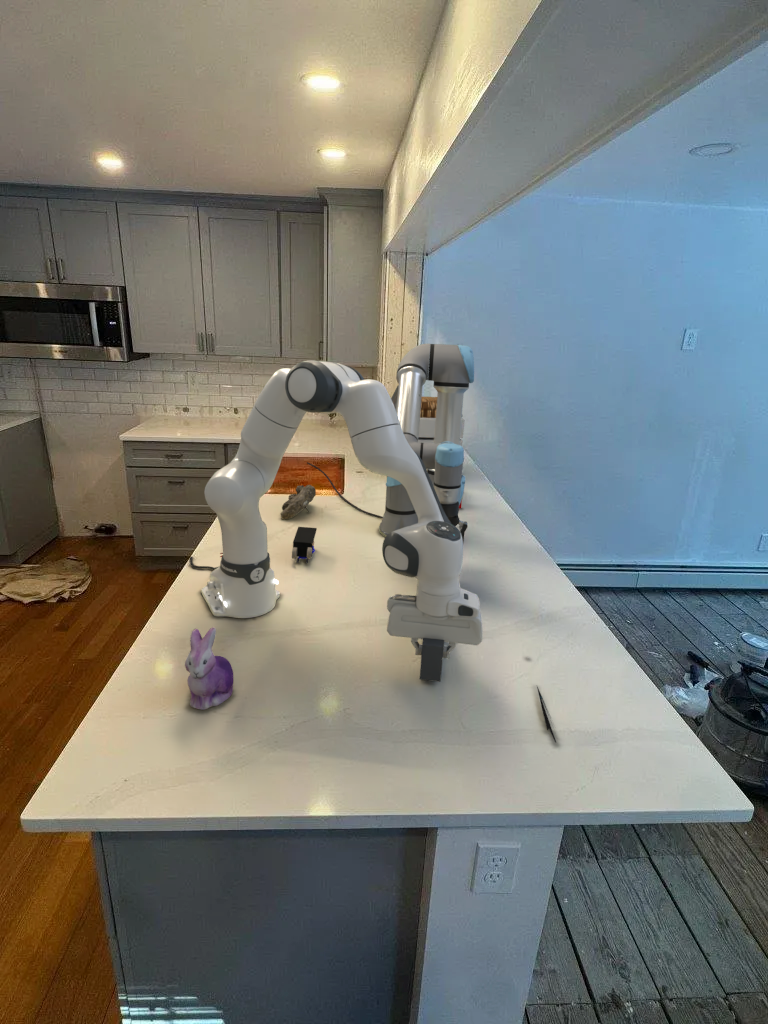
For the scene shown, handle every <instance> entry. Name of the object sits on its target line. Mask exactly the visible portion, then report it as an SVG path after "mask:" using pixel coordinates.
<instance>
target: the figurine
mask: <svg viewBox="0 0 768 1024" xmlns="http://www.w3.org/2000/svg"><path fill="white" fill-rule="evenodd" d="M216 634H217V629H216V628H215V627H214V626H212V627H211V628H210V629H208V631H207V632H206V634H205V635H204V636H203V637H202V635H201V631H200V630H199V629H198V628H194V629H193V630H191V634H190V638H189V639H190V640H189V641H190V643H189V646H190V650H189V652H188V655H187V656H186V658H185V662H184V668H185V669H186V671H187V672H188V673H189V675H188V677H187V686H188V688H189V692H190V702H189V706H190V707H191V708H194V709H197V710H202V711H203V710H208V709H209V708H211V707H217V706H220V705H221V704H222V703H225V701H227V700H228V699H229V698H230V697H232V694H233V691H234V670H233V666H232V664H231V662H230V661H229V660H228V658H226V657H225V656H222V655H215V654H214V651H213V650H212V648H213V645H214V642H215V639H216Z"/></svg>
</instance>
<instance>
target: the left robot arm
mask: <svg viewBox="0 0 768 1024" xmlns="http://www.w3.org/2000/svg"><path fill="white" fill-rule="evenodd" d="M391 398H392V397H391V396H390V394H389V392H388V390H387V388H386V386H385V385H384V384H383V383H382V382H381V381H380V380H376V379H369V378H367V379H365V378H364V377H363V375H362V374H361V372H359V371H358V370H357V369H355V368H354V367H352V366H350V365H346V364H343V363H338V362H335V361H320V360H316V359H315V360H314V359H309V360H304V361H300V362H298V363H296V364H294V365H293V366H292V367H291V368H289V367H283V368H280V369H277V370H276V371H275V372H274V373H273V374H272V375H271V376H270V378H269V379H268V380H267V382H266V384H265V385H264V386H263V388H262V390H261V391H260V393H259V394H258V396H257V398H256V400H255V402H254V404H253V406H252V408H251V410H250V412H249V415H248V417H247V418H246V421H245V423H244V425H243V427H242V429H241V431H240V441H239V446H238V449H237V452H236V454H235V456H234V457H233V458H232V460H231V461H230V462H229V463H228V464H226V465H225V466H222V468H221V467H220V469H218V470H216V471H215V472H214V473H213V474H212V476H211V477H210V478H209V480H208V481H207V483H206V485H205V487H204V500H205V502H206V504H207V505H208V507H209V508H210V510H212V511H213V512H215V515H216V517H217V520H218V523H219V527H220V534H221V544H222V552H220V553H219V554H220V556H219V558H221V559H220V563H219V564H220V565H219V566H216V567H213V566H207V565H205V566H204V565H195V564H194V563H193V562H194V561H193V560H194V559H193V558H194V557H193V556H190V557H189V564H190V566H191V567H192V568H194V569H199V570H200V569H202V570H205V569H206V570H212V571H211V573H210V574H209V581H207V583H206V585H205V586H203V587H202V588H201V595H202V596H203V599H204V600H205V602H206V604H207V606H208V608H209V610H210V612H211V613H212V615H213V616H214V617H230V618H236V619H250V618H256V617H260V616H263V615H265V614H267V613H270V612H271V611H272V610H274V608H275V606H276V604H277V600H278V599H279V598H280V596H281V593H280V591H279V590H277V588H276V585H279V580H278V579H276V578H275V571H274V569H273V568H272V567H271V556H270V553H269V552H268V551H269V550H268V549H269V548H268V546H269V545H268V527H267V526H268V525H267V524H266V522H264V520H263V519H262V516H261V515H262V514H261V512H260V507H259V506H260V499H261V498H262V497H263V496H264V495H265V494H267V492H269V491H270V490H271V488H272V487H273V484H274V482H275V479H276V476H277V474H278V471H279V469H280V466H281V463H282V460H283V458H284V455H285V453H286V451H287V450H288V447H289V445H290V443H291V441H292V439H293V438H294V436H295V433H296V432H297V430H298V428H299V427H300V424H301V422H302V420H303V418H304V416H305V415H306V413H311V414H313V413H315V414H316V413H317V414H325V415H330V414H338V415H340V416H341V417H342V418H343V420H344V422H345V424H346V427H347V431H348V435H349V439H350V443H351V446H352V449H353V453H354V455H355V457H356V459H357V461H358V463H359V465H361V466H362V467H363V468H364V469H366V470H367V471H369V472H371V473H374V474H377V475H380V476H385V477H387V476H388V477H391V478H394V479H396V480H397V481H399V482H400V483H401V484H402V485H403V486H404V487H405V488H406V490H407V493H408V495H409V497H410V500H411V502H412V504H413V507H414V509H415V512H416V514H417V516H418V523H417V524H414V525H411V526H407V527H404V528H401V529H398V530H395V531H393V532H391V533H389V534H388V535H387V536H386V537H384V539H383V542H382V547H381V551H382V552H381V553H382V558H383V562H384V563H385V565H386V567H388V569H390V570H391V571H392V572H394V573H395V574H398V575H401V576H404V577H407V578H415V579H416V580H417V583H416V593H415V594H416V595H411V594H410V595H408V594H407V595H406V594H399V593H397V594H394V595H391V596H390V597H388V598H387V602H386V609H387V611H388V612H389V614H388V619H387V626H386V632H387V633H388V635H389V636H391V637H398V638H399V637H400V638H409V639H410V642H411V644H412V646H413V647H414V649H415V651H414V652H415V653H414V655H415V656H421V654H422V643H421V644H420V642H419V640H423V638H431V639H440V640H444V643H445V642H446V643H448V645H447V646H444V649H443V659H450V653H451V652H452V651H453V650H454V649H455V648H456V644H460V645H461V644H462V645H472V646H479V645H481V643H482V642H483V634H484V633H483V632H484V631H483V630H484V629H483V615H482V611H481V608H480V607H481V602H480V598H479V595H478V594H476V593H475V592H471V591H469V590H466V589H464V588H462V587H461V584H460V576H461V574H462V571H463V563H464V562H463V561H464V543H463V539H462V535H461V532H460V528H459V527H457V526H456V527H455V526H454V525H452V524H451V522H450V521H449V519H448V518H447V516H446V514H445V512H444V510H443V508H442V506H441V503H440V501H439V499H438V496H437V494H436V491H435V489H434V486H433V484H432V482H431V479H430V477H429V474H428V472H427V471H428V469H426V468H425V465H424V463H423V461H422V460H421V458H420V456H419V455H418V454H417V453H416V452H415V451H413V449H412V448H411V447H410V445H409V444H408V442H407V440H406V438H405V436H404V434H403V431H402V428H401V425H400V422H399V418H398V415H397V412H396V410H395V407H394V405H393V402H392V400H391Z"/></svg>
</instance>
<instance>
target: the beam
mask: <svg viewBox="0 0 768 1024" xmlns="http://www.w3.org/2000/svg"><path fill="white" fill-rule="evenodd" d="M421 645H422V654H421V655H420V656H421V657H420V669H419V680H421V681H431V682H439V683H440V682H441V680H442V679H441V678H442V670H443V669H442V668H443V660H444V658H443V649H444V647H445V642H444V640H440V639H431V638H423V639H422V643H421Z"/></svg>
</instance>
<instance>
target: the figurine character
mask: <svg viewBox="0 0 768 1024" xmlns="http://www.w3.org/2000/svg"><path fill="white" fill-rule="evenodd" d="M317 530H318V529H317V527H308V526H297V530H296V532H295V535H294V538H293V541H292V551H291V559H294V560H296V563H297V564H299V563H300V560H305V564H308V563H309V560H312V558H313V554H314V553H315V552H316V549H315V546H314V545H315V537H316V533H317Z"/></svg>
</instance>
